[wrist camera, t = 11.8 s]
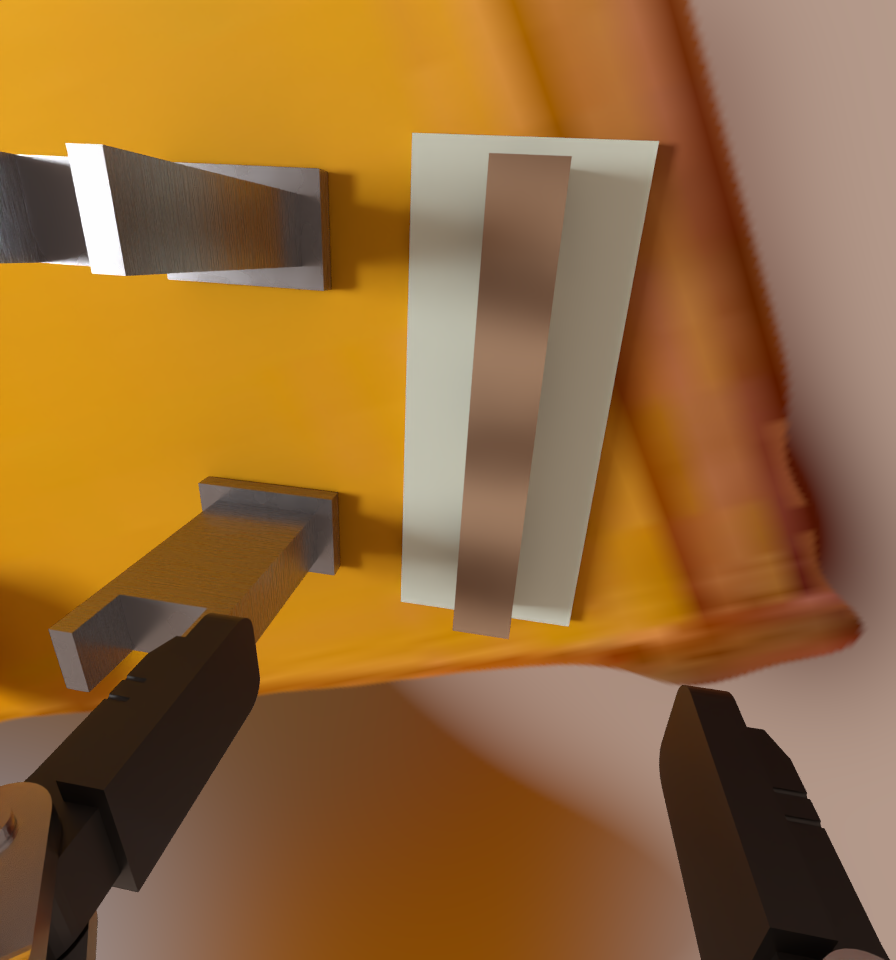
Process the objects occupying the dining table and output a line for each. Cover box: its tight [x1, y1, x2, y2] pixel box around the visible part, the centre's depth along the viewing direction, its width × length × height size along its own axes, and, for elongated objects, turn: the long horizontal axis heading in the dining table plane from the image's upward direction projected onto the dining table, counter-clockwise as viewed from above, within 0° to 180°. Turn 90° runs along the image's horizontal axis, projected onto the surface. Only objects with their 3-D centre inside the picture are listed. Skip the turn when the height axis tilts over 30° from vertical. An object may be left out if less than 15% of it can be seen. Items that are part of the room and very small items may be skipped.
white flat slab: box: [401, 133, 659, 626], centre depth 26 cm, size 24×10×1 cm, turn 177°
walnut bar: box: [453, 153, 572, 639], centre depth 25 cm, size 22×3×3 cm, turn 177°
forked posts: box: [0, 143, 340, 692], centre depth 23 cm, size 21×8×12 cm, turn 177°
